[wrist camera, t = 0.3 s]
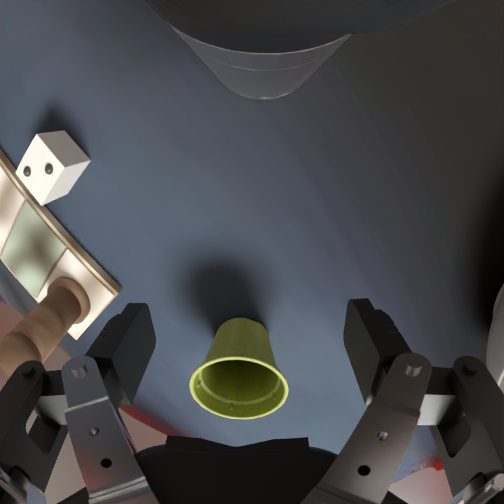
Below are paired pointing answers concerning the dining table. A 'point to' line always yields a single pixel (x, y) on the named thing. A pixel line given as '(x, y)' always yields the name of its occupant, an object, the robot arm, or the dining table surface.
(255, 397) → the plant pot
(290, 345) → the dining table surface
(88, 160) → the die
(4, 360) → the pawn
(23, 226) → the game board
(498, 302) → the decorative bowl
